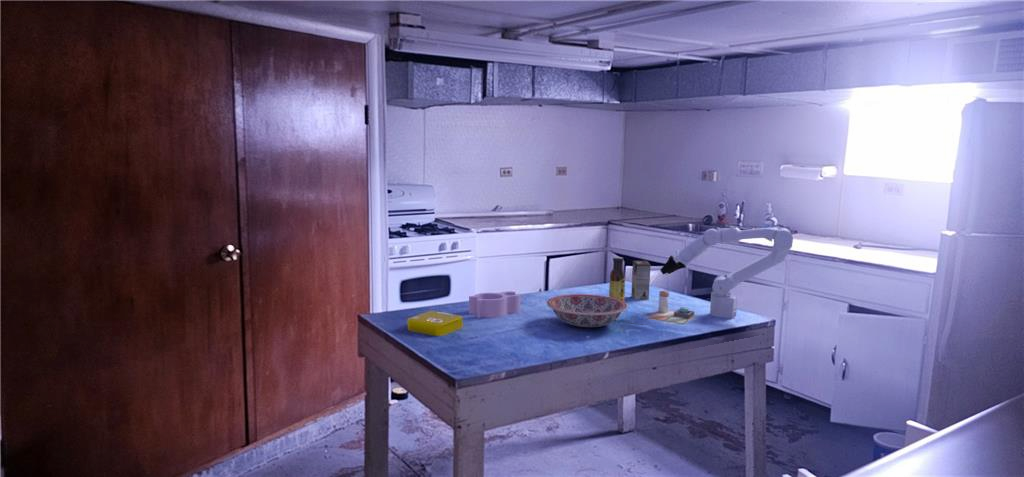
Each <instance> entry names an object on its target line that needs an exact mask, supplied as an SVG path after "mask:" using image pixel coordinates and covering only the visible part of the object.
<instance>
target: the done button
mask: <svg viewBox="0 0 1024 477" xmlns="http://www.w3.org/2000/svg"><path fill="white" fill-rule="evenodd" d="M679 309H680V312H681V313H687V314H688V312H689V310H690V309H689V307H686V306H681V307H679Z"/></svg>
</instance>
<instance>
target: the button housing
mask: <svg viewBox="0 0 1024 477" xmlns="http://www.w3.org/2000/svg"><path fill="white" fill-rule="evenodd" d="M694 315H695V310H690V309H689V312H688V314H687V313H681V312H680V308H678V309H676V310H675V311H674V316H675V317H682V318H688V319H690V318H691V317H692V316H694Z"/></svg>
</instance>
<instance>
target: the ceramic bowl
mask: <svg viewBox="0 0 1024 477" xmlns="http://www.w3.org/2000/svg"><path fill="white" fill-rule="evenodd" d="M546 305H547V307H549V308H550V309H552V311H553V313H554V314H555V316H556V317H557V318H558V319H559V320H561V321H562V322H564V323H566V324H568V325H571V326H573V327H575V326H576V327H581V328H598V327H603V326H607V325H609V324H611V323H613V322H614V321H615V320H616V319H618V318H619V316H620V315H621V313H622V312H624V311H626V310H627V309H628V304H627V303H626V302H625V301H624V302H623V301H621V300H619V299H615V298H611V297H609V296H605V295H598V294H583V293H582V294H581V293H579V294H577V293H575V294H574V293H573V294H563V295H557V296H553V297H551V298H549V299H547V301H546Z"/></svg>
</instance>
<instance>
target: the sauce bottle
mask: <svg viewBox="0 0 1024 477" xmlns="http://www.w3.org/2000/svg"><path fill="white" fill-rule="evenodd" d="M612 262H613V265H612V267H613V269H612V270H611V271H610V274H609V287H608V288H609V292H608V293H609V294H608V295H609V296H608V297H611V298H615V299H619V300H621V301H623V302H625V295H626V294H625V293H626V292H625V291H626V275H625V271H624V267H623V264H624V263H623V262H624V257H622V256H614V257H612Z"/></svg>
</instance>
